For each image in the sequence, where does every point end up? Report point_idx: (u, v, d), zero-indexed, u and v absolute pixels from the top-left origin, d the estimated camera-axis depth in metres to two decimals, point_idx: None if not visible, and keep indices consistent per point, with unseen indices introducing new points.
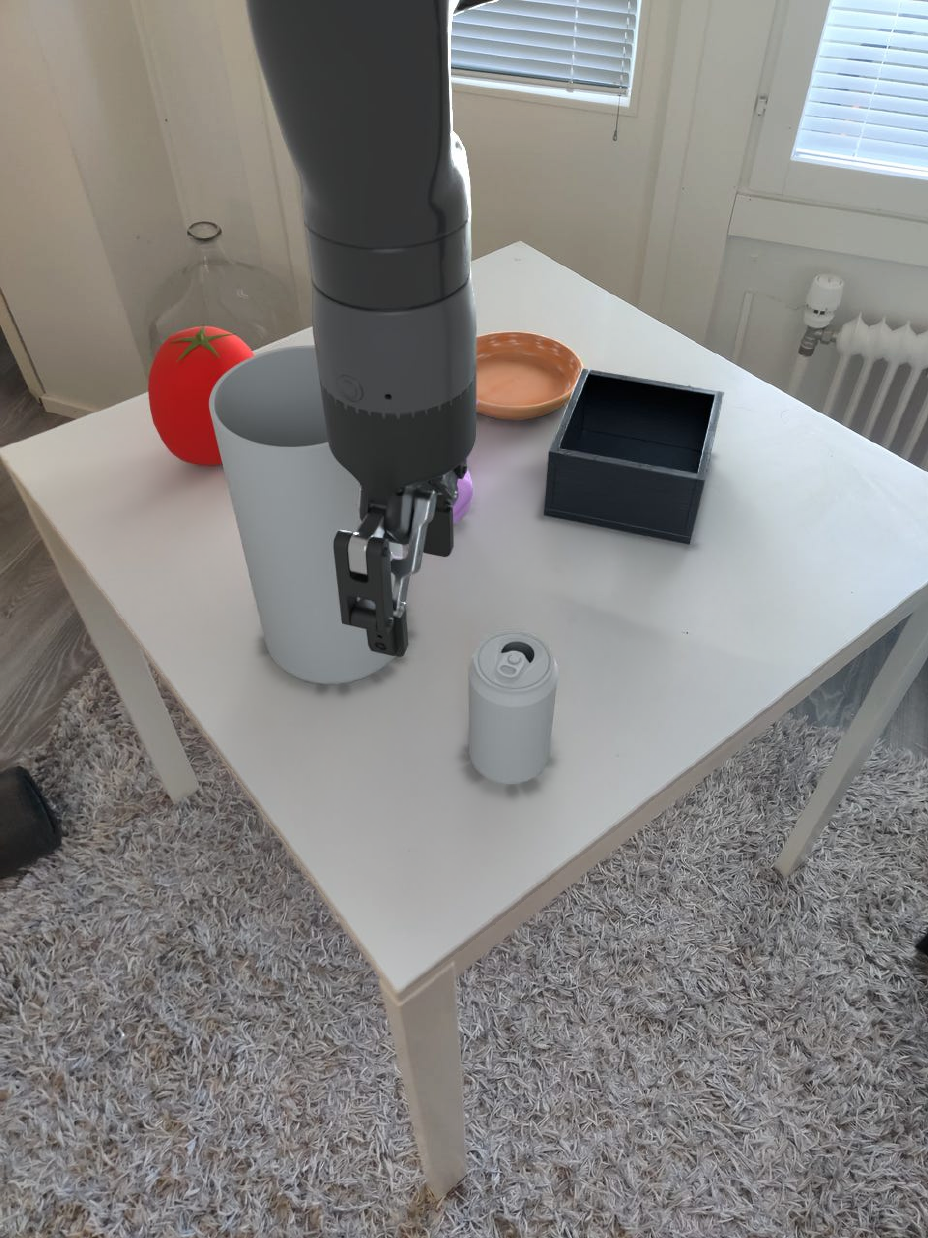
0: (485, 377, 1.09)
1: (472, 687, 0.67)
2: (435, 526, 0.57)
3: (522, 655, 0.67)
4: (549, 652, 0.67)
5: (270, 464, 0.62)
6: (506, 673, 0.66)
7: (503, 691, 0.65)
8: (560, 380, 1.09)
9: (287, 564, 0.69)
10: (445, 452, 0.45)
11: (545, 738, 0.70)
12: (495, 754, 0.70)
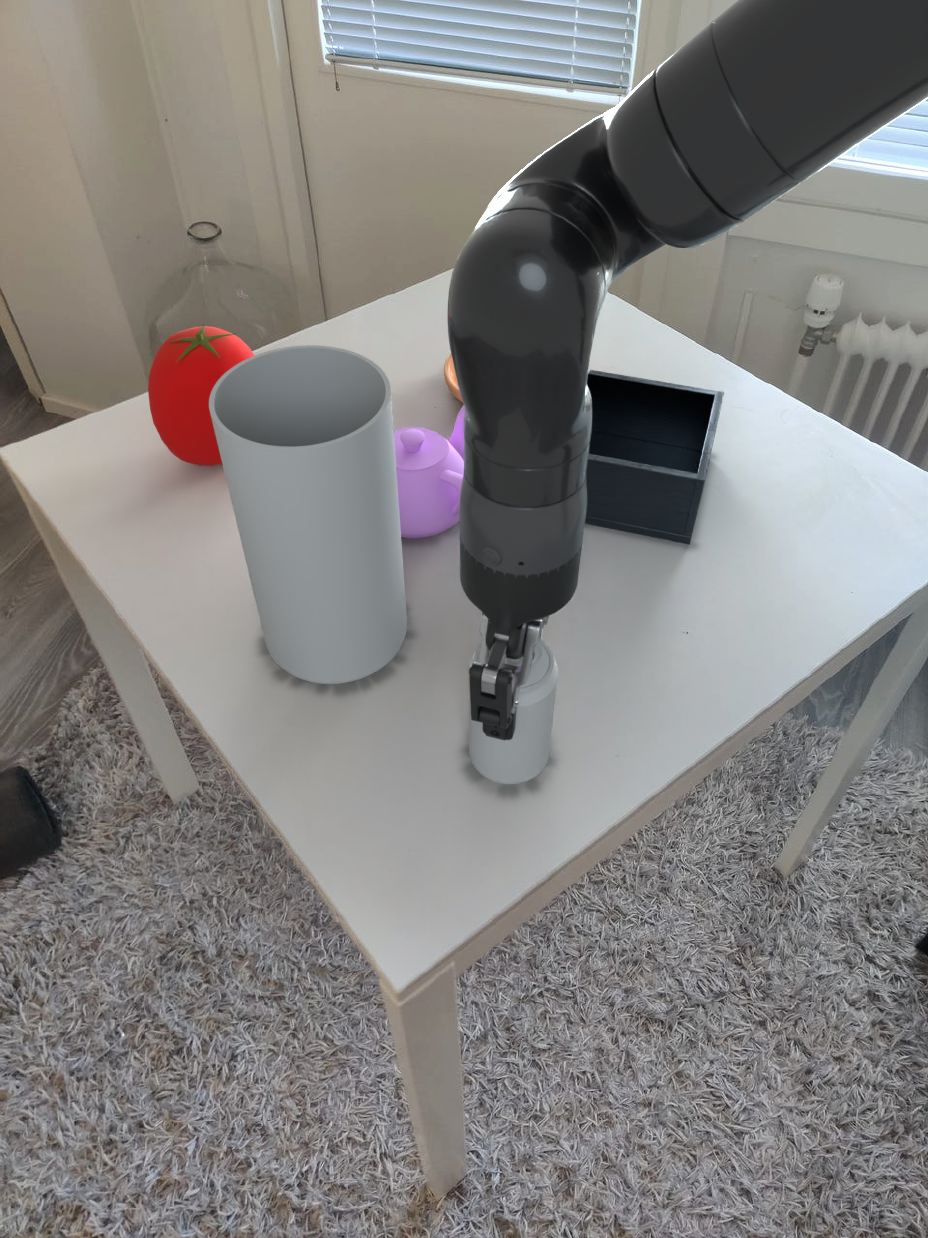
0: None
1: None
2: None
3: None
4: (549, 652, 0.67)
5: (270, 464, 0.62)
6: None
7: None
8: None
9: (287, 564, 0.69)
10: (558, 598, 0.57)
11: (545, 738, 0.70)
12: (495, 754, 0.70)
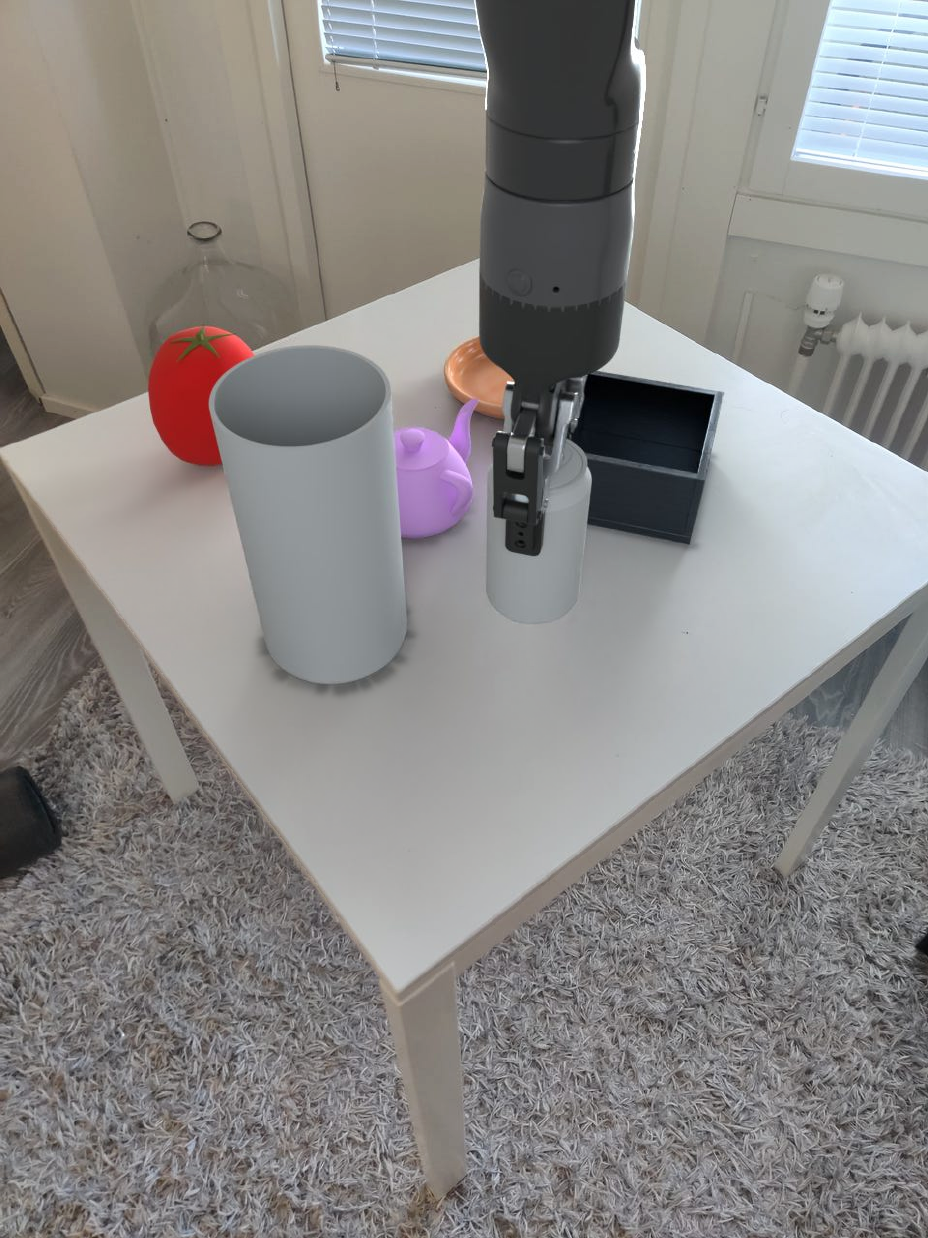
0: (485, 377, 1.09)
1: (492, 495, 0.57)
2: None
3: None
4: (581, 453, 0.57)
5: (270, 464, 0.62)
6: None
7: None
8: None
9: (287, 564, 0.69)
10: (598, 349, 0.48)
11: (576, 564, 0.60)
12: (519, 582, 0.60)
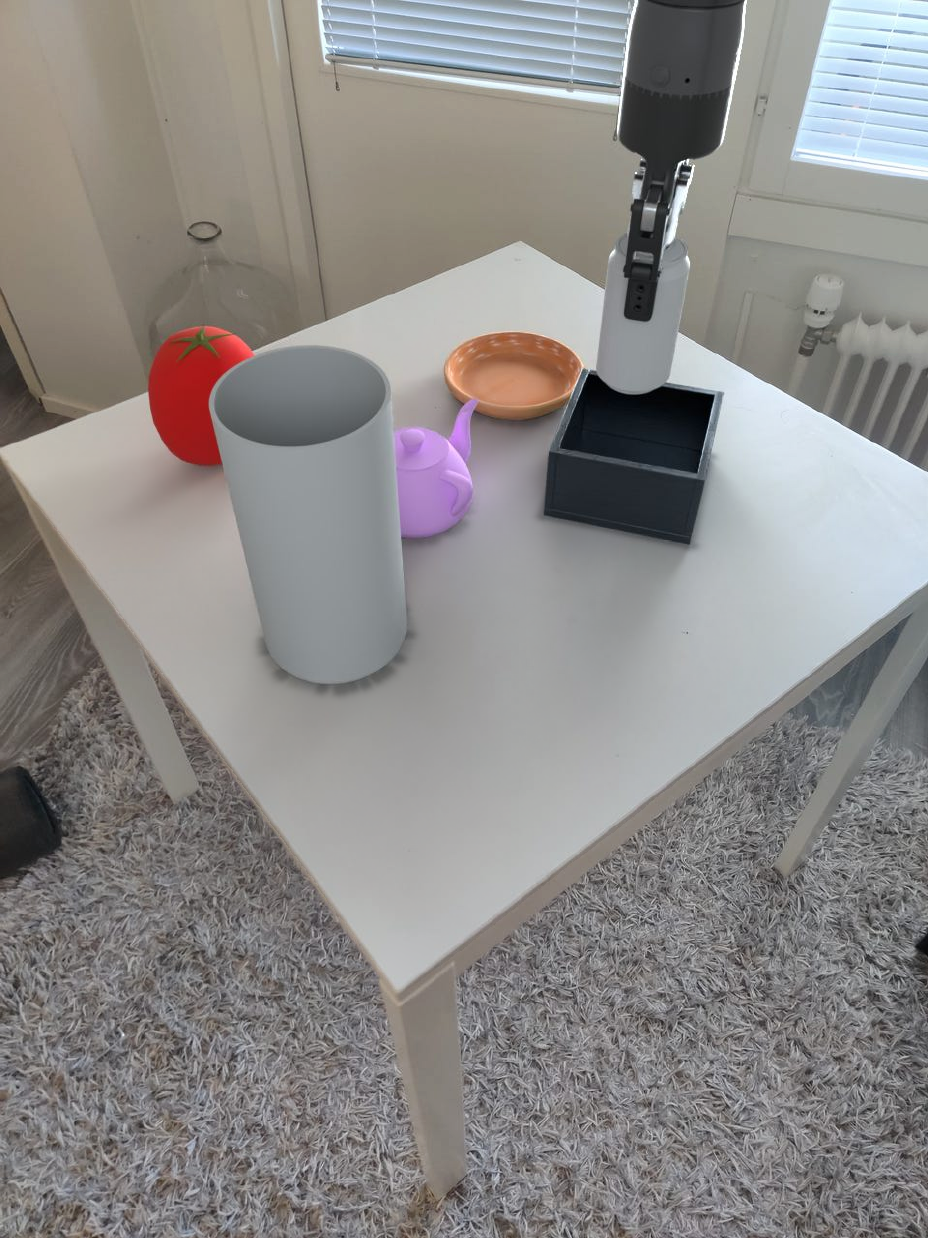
0: (485, 377, 1.09)
1: (613, 273, 0.74)
2: None
3: None
4: (682, 242, 0.74)
5: (270, 464, 0.62)
6: None
7: None
8: (560, 380, 1.09)
9: (287, 564, 0.69)
10: (712, 135, 0.64)
11: (673, 337, 0.77)
12: (628, 351, 0.77)
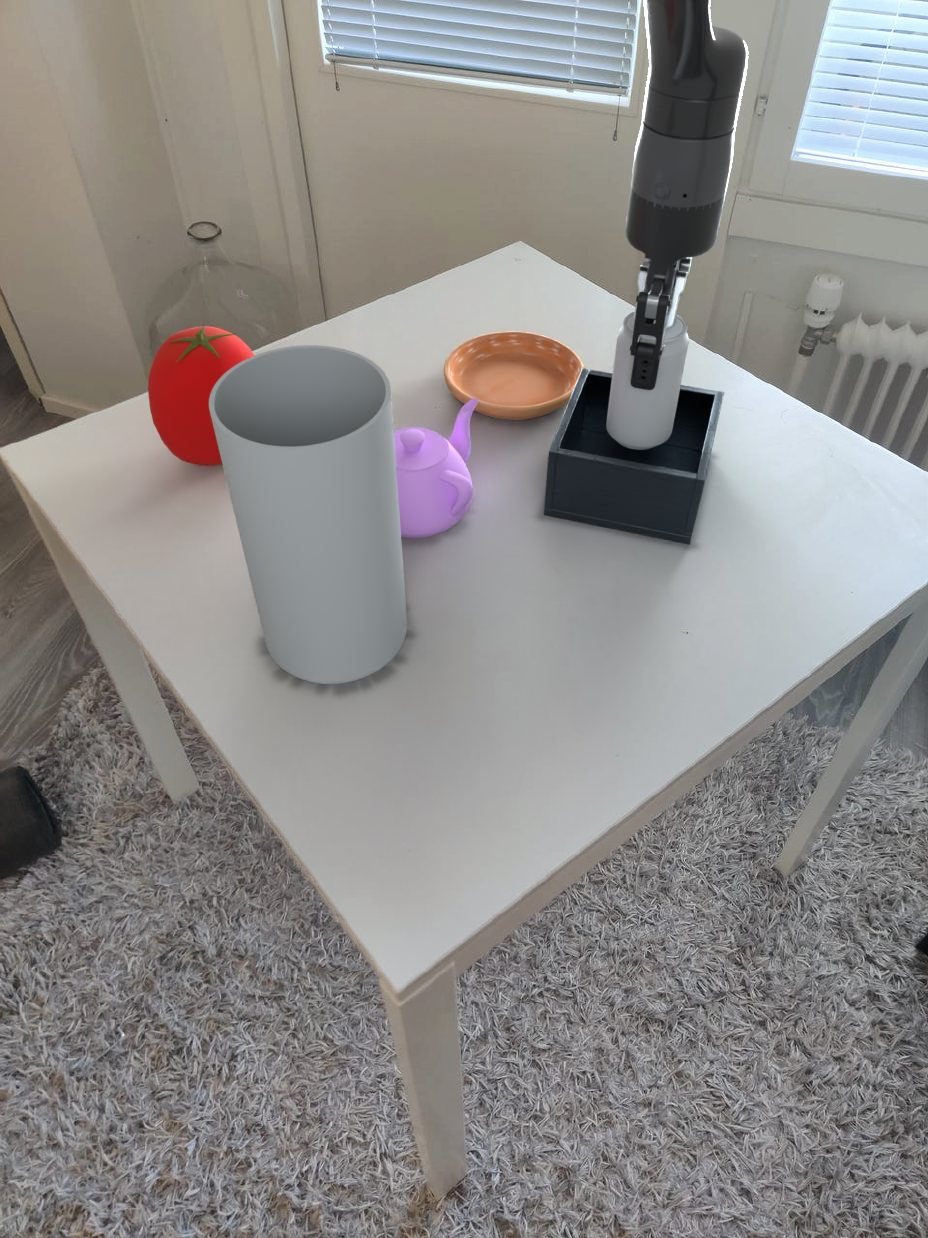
0: (485, 377, 1.09)
1: (622, 347, 0.84)
2: None
3: None
4: (682, 320, 0.84)
5: (270, 464, 0.62)
6: None
7: None
8: (560, 380, 1.09)
9: (287, 564, 0.69)
10: (706, 237, 0.75)
11: (674, 401, 0.88)
12: (635, 413, 0.88)
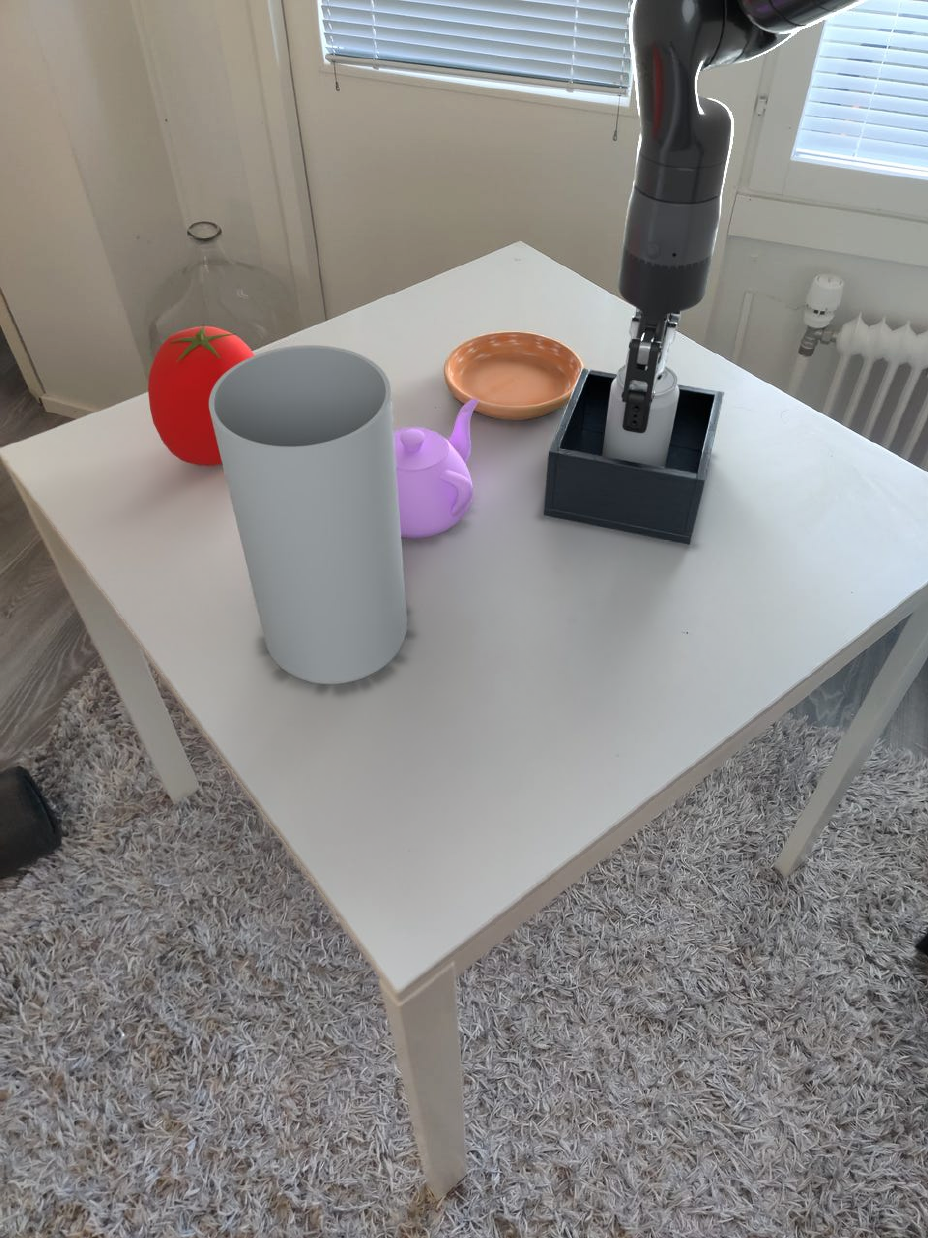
0: (485, 377, 1.09)
1: (615, 399, 0.88)
2: None
3: None
4: (673, 373, 0.89)
5: (270, 464, 0.62)
6: (642, 385, 0.87)
7: None
8: (560, 380, 1.09)
9: (287, 564, 0.69)
10: (695, 292, 0.79)
11: (665, 449, 0.92)
12: (627, 460, 0.92)
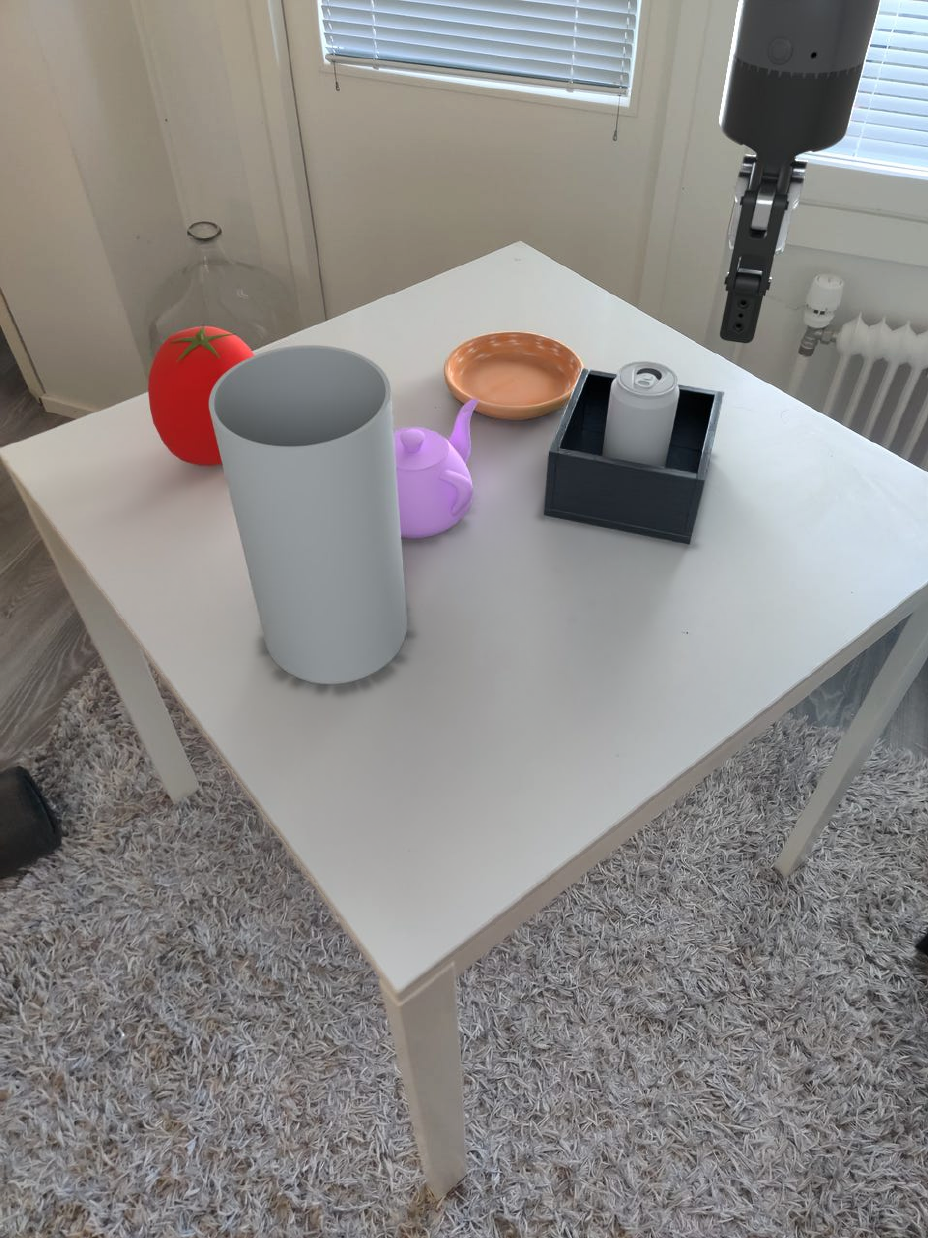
0: (485, 377, 1.09)
1: (615, 399, 0.88)
2: None
3: (652, 375, 0.88)
4: (673, 373, 0.89)
5: (270, 464, 0.62)
6: None
7: (641, 395, 0.86)
8: (560, 380, 1.09)
9: (287, 564, 0.69)
10: (837, 122, 0.54)
11: (665, 449, 0.92)
12: (627, 460, 0.92)
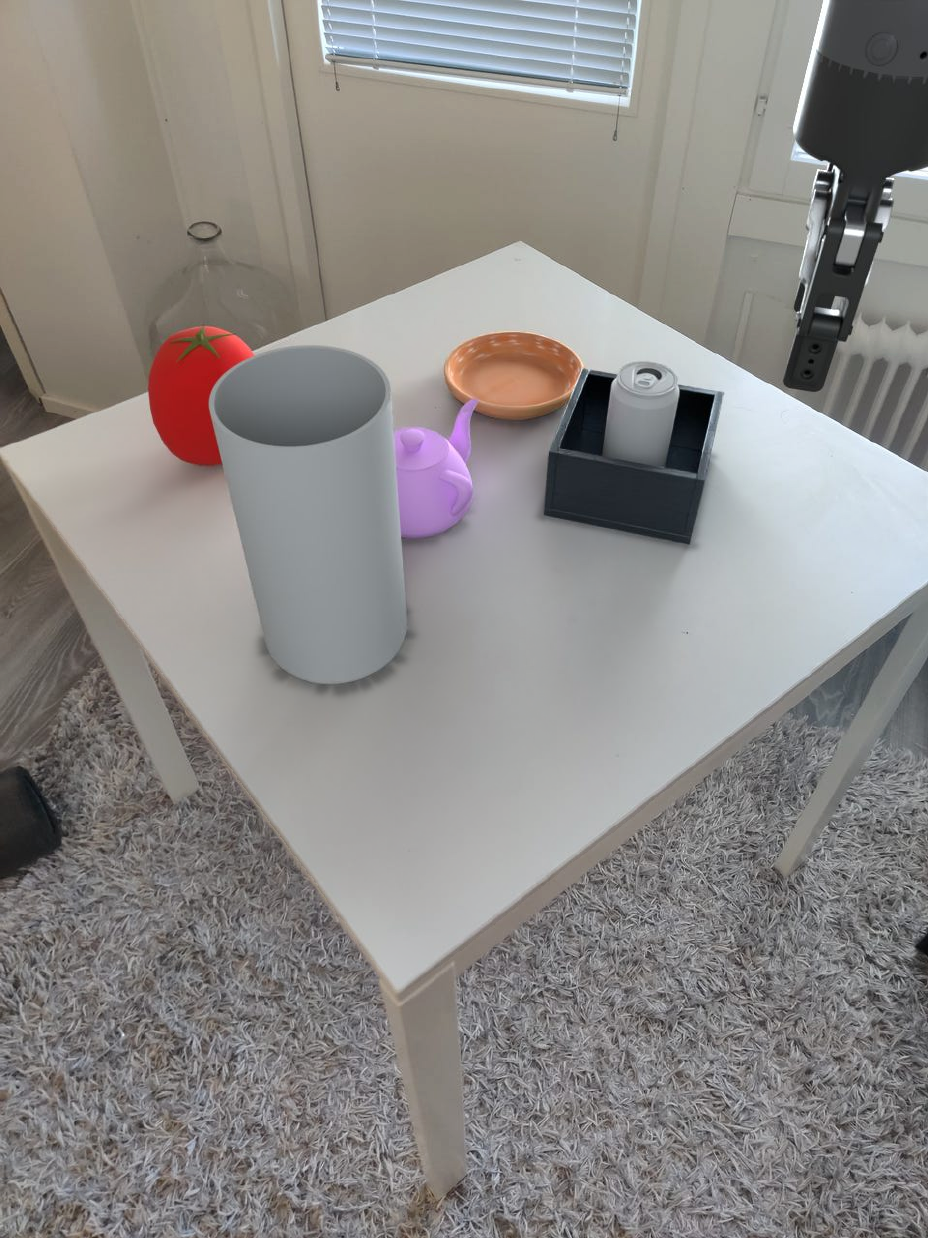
0: (485, 377, 1.09)
1: (615, 399, 0.88)
2: None
3: (652, 375, 0.88)
4: (673, 373, 0.89)
5: (270, 464, 0.62)
6: None
7: (641, 395, 0.86)
8: (560, 380, 1.09)
9: (287, 564, 0.69)
10: None
11: (665, 449, 0.92)
12: (627, 460, 0.92)
